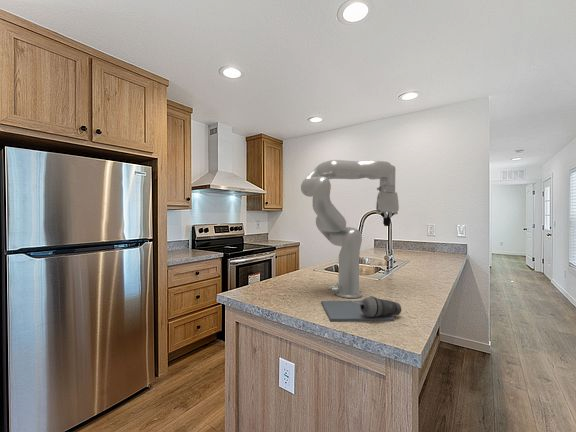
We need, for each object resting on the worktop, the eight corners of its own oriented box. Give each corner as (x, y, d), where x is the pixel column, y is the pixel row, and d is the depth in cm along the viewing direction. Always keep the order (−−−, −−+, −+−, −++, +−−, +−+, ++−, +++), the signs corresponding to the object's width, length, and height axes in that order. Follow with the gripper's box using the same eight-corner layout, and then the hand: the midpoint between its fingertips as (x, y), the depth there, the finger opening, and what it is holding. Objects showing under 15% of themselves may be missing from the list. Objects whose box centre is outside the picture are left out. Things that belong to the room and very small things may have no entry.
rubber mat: (330, 321, 97) (330, 318, 97) (321, 303, 117) (321, 300, 117) (394, 321, 98) (394, 318, 98) (374, 302, 118) (374, 300, 118)
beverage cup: (388, 312, 107) (343, 309, 100) (392, 295, 106) (348, 291, 99) (400, 322, 100) (354, 320, 93) (406, 304, 99) (359, 300, 93)
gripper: (375, 189, 136) (375, 226, 136) (405, 189, 137) (404, 226, 137) (370, 190, 143) (369, 225, 144) (398, 190, 144) (397, 225, 144)
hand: (386, 225), depth 140 cm, fingers closed
